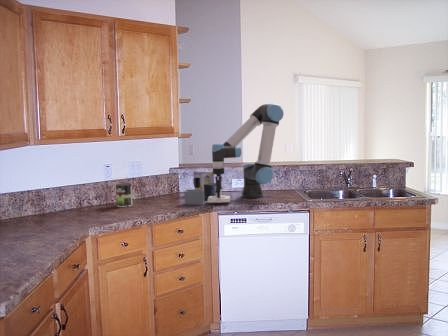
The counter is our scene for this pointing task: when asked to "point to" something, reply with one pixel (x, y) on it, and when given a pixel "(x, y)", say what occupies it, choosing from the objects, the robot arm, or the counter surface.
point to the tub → (194, 197)
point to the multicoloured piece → (124, 195)
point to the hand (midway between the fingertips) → (219, 200)
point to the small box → (209, 190)
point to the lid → (223, 198)
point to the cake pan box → (202, 178)
